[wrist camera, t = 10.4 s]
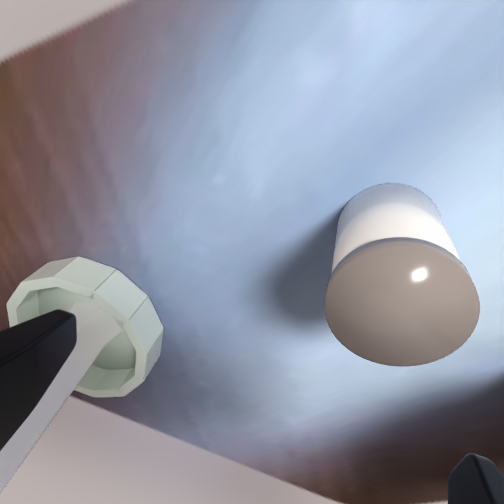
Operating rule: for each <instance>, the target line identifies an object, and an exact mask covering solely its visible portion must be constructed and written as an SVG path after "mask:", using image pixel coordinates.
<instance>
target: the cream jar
mask: <svg viewBox="0 0 504 504" xmlns="http://www.w3.org/2000/svg"><path fill="white" fill-rule="evenodd" d="M479 313H480V303H479V297H478V294H477V291H476V288H475V286H474V283H473V281H472V279H471V277H470V275H469V273H468V271H467V269H466V268H465V266H464V265H463V264H462V262H461V261H460V259H459V257H458V254H457V252H456V250H455V247H454V245H453V243H452V240H451V238H450V236H449V233H448V231H447V229H446V226H445V224H444V222H443V219H442V217H441V214H440V212H439V210H438V208H437V206H436V204H435V203H434V202H433V201H432V199H431V198H430V197H428V196H427V195H426V194H425V193H423V192H422V191H420V190H418V189H416V188H414V187H412V186H409V185H404V184H398V183H386V184H379V185H375V186H372V187H370V188H367V189H365V190H363V191H361V192H360V193H358V194H357V195H355V196H354V197H353V198H352V199H351V200H350V201H349V202H348V203H347V204H346V206H345V207H344V209H343V210H342V212H341V215H340V217H339V221H338V226H337V234H336V242H335V249H334V257H333V265H332V273H331V276H330V278H329V281H328V285H327V291H326V298H325V315H326V319H327V322H328V325H329V327H330V329H331V331H332V333H333V334H334V335H335V337H336V338H337V339H338V340H339V341H340V343H341V344H342V345H344V346H345V347H346V348H347V349H348V350H350V351H351V352H353V353H354V354H356V355H358V356H360V357H362V358H364V359H367V360H369V361H372V362H375V363H379V364H384V365H389V366H416V365H422V364H427V363H430V362H433V361H436V360H439V359H441V358H444V357H445V356H447V355H449V354H451V353H453V352H454V351H455V350H457V349H458V348H459V347H460V346H462V345H463V344H464V343H465V342H466V341H467V339H468V338H469V337H470V336H471V334H472V332H473V331H474V329H475V327H476V324H477V322H478V318H479Z"/></svg>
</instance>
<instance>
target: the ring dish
mask: <svg viewBox="0 0 504 504" xmlns="http://www.w3.org/2000/svg"><path fill="white" fill-rule="evenodd" d="M147 296H148V295H146V294H145V293H144V292H143V291H142V290H141V289H139V288H138V287H137V286H136V285H135V284H134V283H132V282H131V281H130V280H129V279H128V278H127V277H125V276H124V275H123V274H122V273H121V272H120V271H118V270H116V269H115V268H112V267H109V266H106V265H103V264H100V263H97V262H94V261H92V260H89V259H86V258H83V257H79V256H78V257H73V258H68V259H63V260H57V261H52V262H48V263H47V264H45V265H44V266H43V267H41V268H40V269H39V270H37V271H36V272H35V273H33V274H32V275H30V276H29V277H28V278H26V279H25V280H24V281H22V282H21V283H20V285H19V286H18V288H17V289H16V290H15V292H14V293H13V295H12V296H11V298H10V299H9V301H8V302H7V311H8V317H9V324H10V327H12V326H15V325H17V324H20V323H22V322H25V321H27V320H30V319H33V318H35V317H38V316H40V315H43V314H45V313H48V312H50V311H53V310H56V309H61V310H64V311H67V312H69V311H70V309H71V307H72V306H73V304H74V303H86V304H99V305H100V306H101V307H102V308H103V309H105V310H106V311H107V312H108V313H109V314H111V315H112V317H113V318H114V320H115V321H116V322H117V324H118V325H119V327H120V328H121V330H122V333H121V334H120V335H119V336H118V337H116V338H115V339H114V340H113V341H112V342H110V343H109V344H108V345H107V346H105V347H104V348H103V349H102V350H101V352H100V353H99V354H98V356H97V357H96V359H95V360H94V362H93V363H92V364H91V366H90V367H89V369H88V370H87V372H86V373H85V374H84V376H83V377H82V379H81V380H80V381H79V383H78V384H77V386H76V387H75V389H74V390H75V391H78V392H81V393H83V394H86V395H89V396H91V397H124V396H126V395H127V394H128V393H129V392H131V391H132V390H133V389H135V388H136V387H137V386H139V385H140V384H141V383H142V382H144V380H145V379H146V377H147V375H148V374H149V372H150V371H151V369H152V367H153V366H154V364H155V363H156V361H157V359H158V358H159V356H160V354H161V346H162V338H163V331H164V329H163V326H162V323H161V321H160V319H159V317H158V315H157V313H156V311H155V309H154V307H153V305H152V303H151V301H150V299H149V297H147Z"/></svg>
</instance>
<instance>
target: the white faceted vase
mask: <svg viewBox="0 0 504 504" xmlns="http://www.w3.org/2000/svg"><path fill="white" fill-rule="evenodd" d="M69 312H70V313H73V314H74V315H75V316H76V322H77V342H76V345H75V347H74V349H73V351H72V353H71V354H70V356H69V357H68V359H67V360H66V362H65V363H64V365H63V366H62V368H61V369H60V371H59V372H58V374H57V376H56V377H55V379H54V380H53V382H52V383H51V385H50V386H49V388H48V389H47V391H46V392H45V394H44V395H43V397H42V398H41V400H40V401H39V403H38V404H37V406H36V407H35V408H34V410H33V411H32V412H31V414H30V415H29V416H28V417H27V419H26V420H25V421H24V422H23V424H22V425H21V426H20V427H19V429H18V430H17V431H16V432H15V434H14V435H13V436H12V437H11V439H10V440H9V441H8V442H7V444H6V445H5V446H4V447H3V448H2V450H1V451H0V494H1V492H2V491H3V489H4V488H5V487H6V485H7V484H8V482H9V481H10V480H11V478H12V477H13V475H14V474H15V472H16V471H17V470H18V468H19V467H20V465H21V464H22V463H23V461H24V459H25V458H26V457H27V455H28V454H29V453H30V451H31V450H32V448H33V447H34V445H35V444H36V443H37V441H38V440H39V438H40V437H41V436H42V434H43V432H44V431H45V430H46V428H47V427H48V426H49V424H50V423H51V421H52V420H53V418H54V417H55V415H56V414H57V413H58V411H59V410H60V409H61V407H62V406H63V404H64V403H65V401H66V400H67V399H68V397H69V396H70V394H71V393H72V391H73V390H74V389H75V387H76V386H77V384H78V383H79V381H80V380H81V379H82V377H83V376H84V374H85V373H86V372H87V370H88V369H89V367H90V366H91V364H92V363H93V362H94V360H95V359H96V357H97V356H98V354H99V353H100V352H101V350H102V349H103V348H104V347H105V346H107V345H108V344H109V343H110V342H112V341H113V340H114V339H115V338H116V337H118V336H119V335H120V334H121V333H122V330H121V328H120V327H119V325H118V324H117V322H116V321H115V320H114V318H113V317H112V315H111V314H109V313H108V312H107V311H106V310H105V309H103V308H102V307H101V306H100V305H99V304H86V303H74V304H73V306H72V307H71V309H70V311H69Z"/></svg>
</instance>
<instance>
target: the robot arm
mask: <svg viewBox="0 0 504 504" xmlns="http://www.w3.org/2000/svg"><path fill="white" fill-rule="evenodd" d="M76 342H77V322H76V316H75V315H74V314H73V313H70V312H67V311H64V310H61V309H56V310H53V311H50V312H48V313H45V314H43V315H40V316H38V317H35V318H33V319H30V320H27V321H25V322H22V323H20V324H17V325H15V326H12V327H10V328H7V329H4V330H2V331H0V451H1V450H2V448H3V447H4V446H5V445H6V444H7V442H8V441H9V440H10V439H11V437H12V436H13V435H14V434H15V432H16V431H17V430H18V429H19V427H20V426H21V425H22V424H23V422H24V421H25V420H26V419H27V417H28V416H29V415H30V414H31V412H32V411H33V410H34V408H35V407H36V406H37V404H38V403H39V401H40V400H41V398H42V397H43V395H44V394H45V392H46V391H47V389H48V388H49V386H50V385H51V383H52V382H53V380H54V379H55V377H56V376H57V374H58V372H59V371H60V369H61V368H62V366H63V365H64V363H65V362H66V360H67V359H68V357H69V356H70V354H71V353H72V351H73V349H74V347H75V345H76ZM448 504H504V476H503V475H502V473H501V472H500V471H499V469H498V468H497V467H496V465H495V464H494V463H493V462H492V461H491V460H490V459H488V458H485V457H482V456H480V455H477V454H474V453H469V454H467V455H466V456H465V457H464V458H463V459H462V460H461V461H460V462H459V464H458V465H457V466H456V467H455V468H454V469H453V470H452V472H451V473H450V475H449V478H448Z"/></svg>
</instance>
